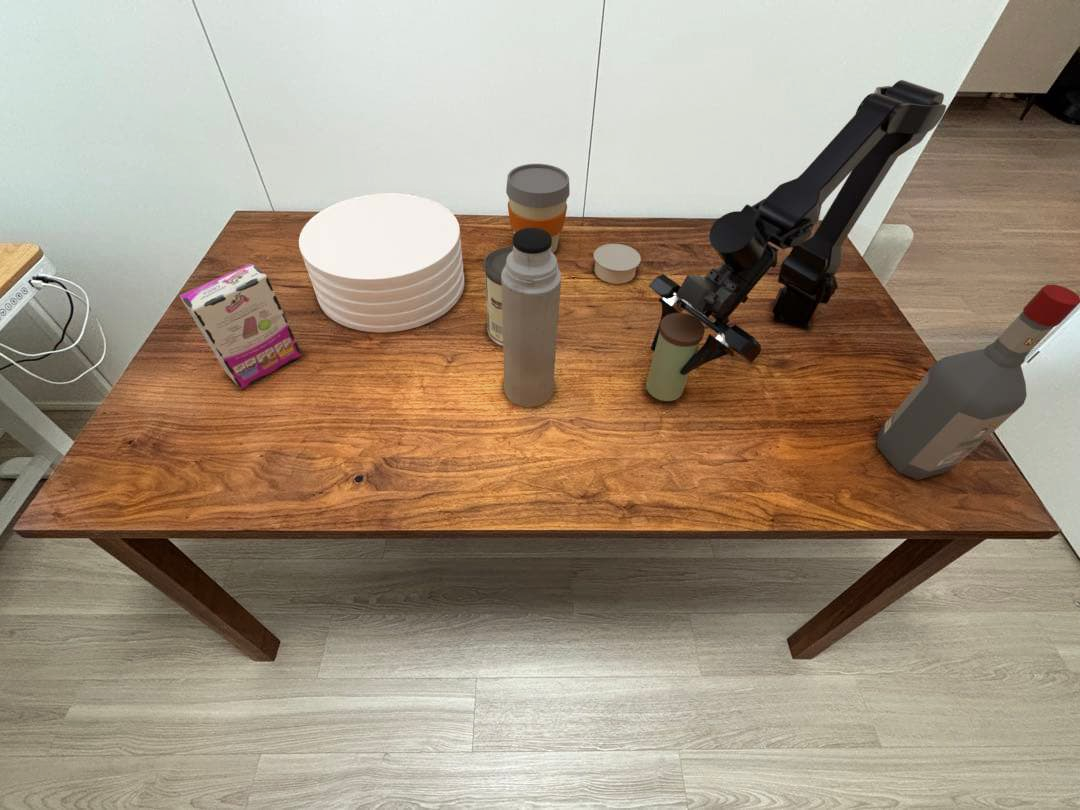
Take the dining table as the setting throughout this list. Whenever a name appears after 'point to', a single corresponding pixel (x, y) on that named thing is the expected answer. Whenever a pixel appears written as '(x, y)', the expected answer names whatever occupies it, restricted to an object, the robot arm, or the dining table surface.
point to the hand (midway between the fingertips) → (666, 361)
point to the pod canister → (673, 355)
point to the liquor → (969, 393)
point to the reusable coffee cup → (538, 199)
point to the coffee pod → (616, 263)
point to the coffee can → (495, 291)
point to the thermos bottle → (530, 317)
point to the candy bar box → (243, 324)
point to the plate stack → (384, 261)
